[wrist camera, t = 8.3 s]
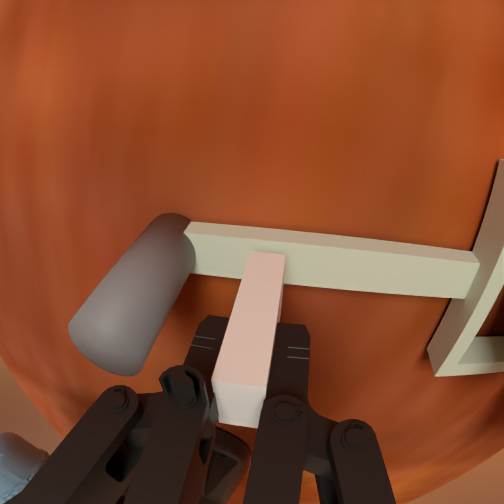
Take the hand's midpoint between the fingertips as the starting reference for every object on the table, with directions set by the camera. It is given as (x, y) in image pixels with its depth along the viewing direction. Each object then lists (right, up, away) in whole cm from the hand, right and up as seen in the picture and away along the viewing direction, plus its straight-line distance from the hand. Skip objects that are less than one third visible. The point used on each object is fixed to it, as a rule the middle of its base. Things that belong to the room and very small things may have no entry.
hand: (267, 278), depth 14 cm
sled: (+9, 0, +1) cm, 9 cm away
